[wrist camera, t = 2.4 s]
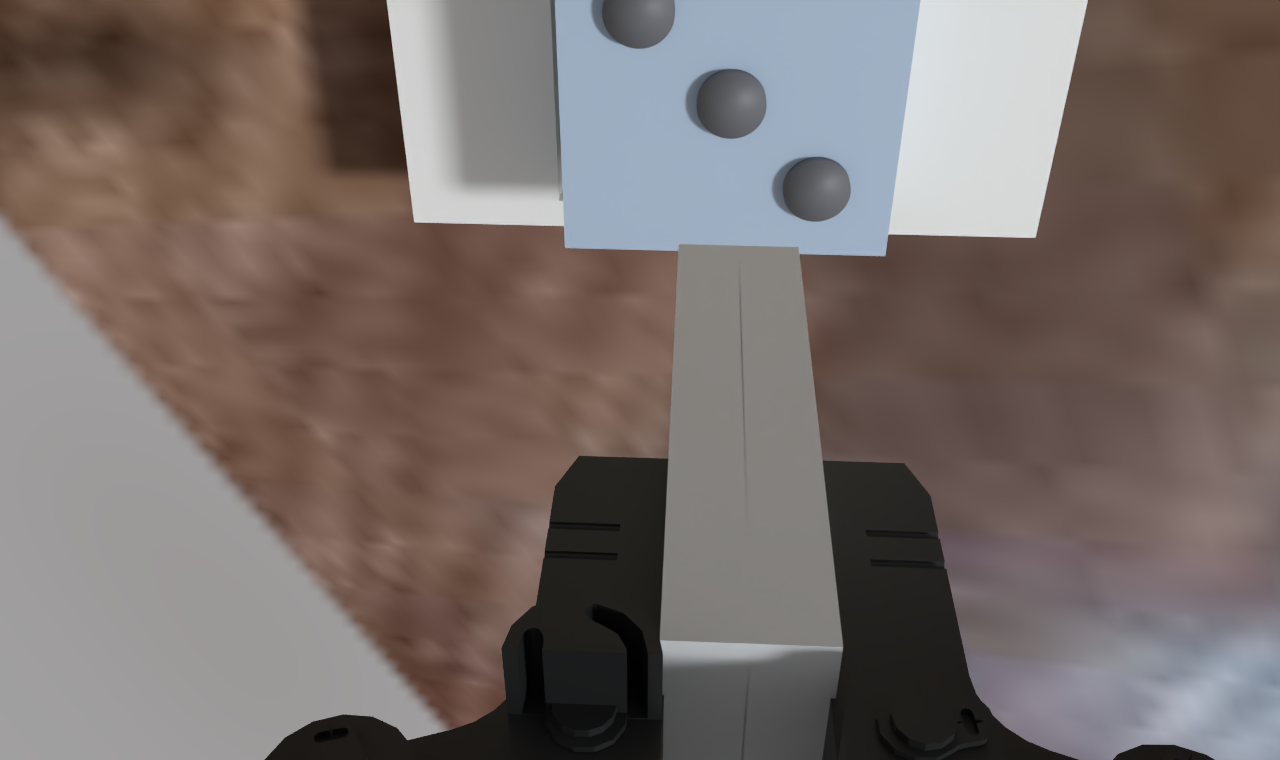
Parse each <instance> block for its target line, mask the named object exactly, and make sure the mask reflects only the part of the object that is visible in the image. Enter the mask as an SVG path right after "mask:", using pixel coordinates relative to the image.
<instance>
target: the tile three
mask: <svg viewBox="0 0 1280 760" xmlns="http://www.w3.org/2000/svg"><path fill="white" fill-rule="evenodd" d="M919 8H920V0H555V19H556V43H557V67H558V91H559V115H560V139H561V163H562V186H563V210H564V234H565V248H589V249H628V250H667V251H678V248H679V244H695V245H735V246H775V247H799V254H822V255H861V256H885V254H886V247H887V239H888V232H889V225H890V218H891V210H892V203H893V196H894V189H895V181H896V174H897V167H898V160H899V153H900V145H901V138H902V131H903V124H904V116H905V109H906V102H907V95H908V87H909V80H910V73H911V66H912V58H913V51H914V44H915V37H916V29H917V22H918V15H919Z"/></svg>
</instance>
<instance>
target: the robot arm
mask: <svg viewBox="0 0 1280 760" xmlns="http://www.w3.org/2000/svg"><path fill="white" fill-rule="evenodd" d="M549 523H550V524H549V529H548V534H547V540H546V547H545V558H544V559H543V565H542V571H541V578H540V584H539V590H538V596H537V603H536V606H533V607H531V608H530V609H529V610H528V611H527V612H526V613H525V614H524V615H523V616H522V617H520V618H519V619H518V620H517V621H516V622H515V623H514V624H513V625H512V626H511V628H510V630H509V633H508V635H507V637H506V639H505V642H504V644H503V646H502V658H503V669H504V679H505V690H506V700H505V701H504V702H503V703H502V704H501V705H500V706H498V707H497V708H496V709H495V710H494V711H492V712H490V713H489V714H487V715H485V716H484V717H482V718H480V719H478V720H477V721H475V722H473V723H470V724H467V725H464V726H461V727H458V728H455V729H452V730H449V731H444V732H440V733H436V734H432V735H428V736H424V737H420V738H416V739H412V740H406V738H405V737H404V736H403V735H402V733H401V732H400V731H399V730H398V729H397V728H396V727H393V726H391V725H389V724H387V723H385V722H383V721H381V720H379V719H376V718H374V717H369V716H355V715H339V716H335V717H331V718H327V719H323V720H319V721H314V722H312V723H310V724H308V725H306V726H305V727H303V728H301V729H299V730H298V731H296V732H294V733H293V734H291V735H289V736H287V737H285V738H284V739H283V741H282V742H281V743H280V744H279V745H278V746H277V747H276V748H275V749H274V750H273V751H272V752H271V753H270V754H269V756H268V757H267V758H266V759H265V760H1078V759H1075V758H1071V757H1068V756H1065V755H1062V754H1059V753H1056V752H1052V751H1050V750H1047V749H1045V748H1042V747H1040V746H1038V745H1035V744H1033V743H1030V742H1028V741H1026V740H1024V739H1023V738H1021V737H1020V736H1018V735H1016V734H1015V733H1013V732H1012V731H1010V730H1009V729H1007V728H1005V727H1004V726H1003V725H1002V724H1001V723H1000V722H999V721H998V720H997V719H996V718H995V717H994V716H993V715H992V713H991V711H990V709H989V708H988V707H987V706H986V705H985V704H984V703H983V702H982V701H981V700H980V699H979V697H978V696H977V694H976V693H975V690H974V687H973V685H972V682H971V679H970V676H969V673H968V668H967V663H966V659H965V654H964V649H963V645H962V640H961V635H960V631H959V626H958V622H957V617H956V612H955V608H954V603H953V598H952V594H951V589H950V584H949V580H948V575H947V571H946V569H945V568H944V562H945V561H944V557H943V552H942V547H941V543H940V539H938V529H937V524H936V520H935V515H934V510H933V506H932V501H931V496H930V495H929V493H928V492H927V491H926V490H925V489H924V487H923V486H922V485H921V484H920V482H919V481H918V480H917V479H916V477H915V476H914V475H913V474H912V472H911V471H910V470H909V469H908V468H907V466H906V465H905V464H904V463H876V462H844V461H822V453H821V444H820V435H819V426H818V417H817V408H816V399H815V390H814V381H813V372H812V363H811V354H810V345H809V336H808V327H807V319H806V310H805V301H804V292H803V283H802V274H801V265H800V256H799V247H775V246H735V245H695V244H679V248H678V269H677V290H676V310H675V331H674V352H673V373H672V394H671V415H670V436H669V457H668V459H658V458H627V457H595V456H579V457H578V458H577V459H576V461H575V462H574V463H573V464H572V466H571V467H570V468H569V469H568V471H567V472H566V473H565V475H564V476H563V477H562V478H561V480H560V481H559V482H558V483H557V485H556V486H555V491H554V497H553V503H552V509H551V515H550V522H549ZM1113 760H1214V759H1212V758H1211V757H1209V756H1207V755H1205V754H1202V753H1198V752H1195V751H1192V750H1189V749H1185V748H1182V747H1179V746H1176V745H1141V746H1138V747H1135V748H1133V749H1130V750H1128V751H1125V752H1122V753H1120V754H1118V755H1117V756H1116V757H1115V758H1114V759H1113Z"/></svg>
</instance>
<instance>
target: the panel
mask: <svg viewBox="0 0 1280 760" xmlns="http://www.w3.org/2000/svg"><path fill="white" fill-rule="evenodd" d="M1087 2H1088V0H920V8H919V15H918V22H917V29H916V37H915V44H914V51H913V58H912V66H911V73H910V80H909V87H908V95H907V102H906V109H905V116H904V124H903V131H902V138H901V145H900V153H899V160H898V167H897V174H896V181H895V189H894V196H893V203H892V210H891V218H890V225H889V232H888V234H902V235H942V236H982V237H1022V238H1036V233H1037V229H1038V224H1039V220H1040V215H1041V210H1042V206H1043V201H1044V197H1045V192H1046V188H1047V183H1048V179H1049V174H1050V170H1051V165H1052V160H1053V156H1054V151H1055V147H1056V142H1057V138H1058V133H1059V129H1060V124H1061V120H1062V115H1063V111H1064V106H1065V101H1066V97H1067V92H1068V88H1069V83H1070V79H1071V74H1072V70H1073V65H1074V61H1075V56H1076V52H1077V47H1078V42H1079V38H1080V33H1081V29H1082V24H1083V20H1084V15H1085V11H1086V6H1087ZM387 7H388V15H389V23H390V31H391V39H392V47H393V55H394V63H395V71H396V79H397V87H398V95H399V103H400V111H401V119H402V127H403V135H404V143H405V152H406V160H407V168H408V176H409V184H410V192H411V200H412V208H413V216H414V222H423V223H463V224H503V225H543V226H564V210H563V186H562V163H561V139H560V115H559V91H558V67H557V43H556V19H555V0H387Z"/></svg>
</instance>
